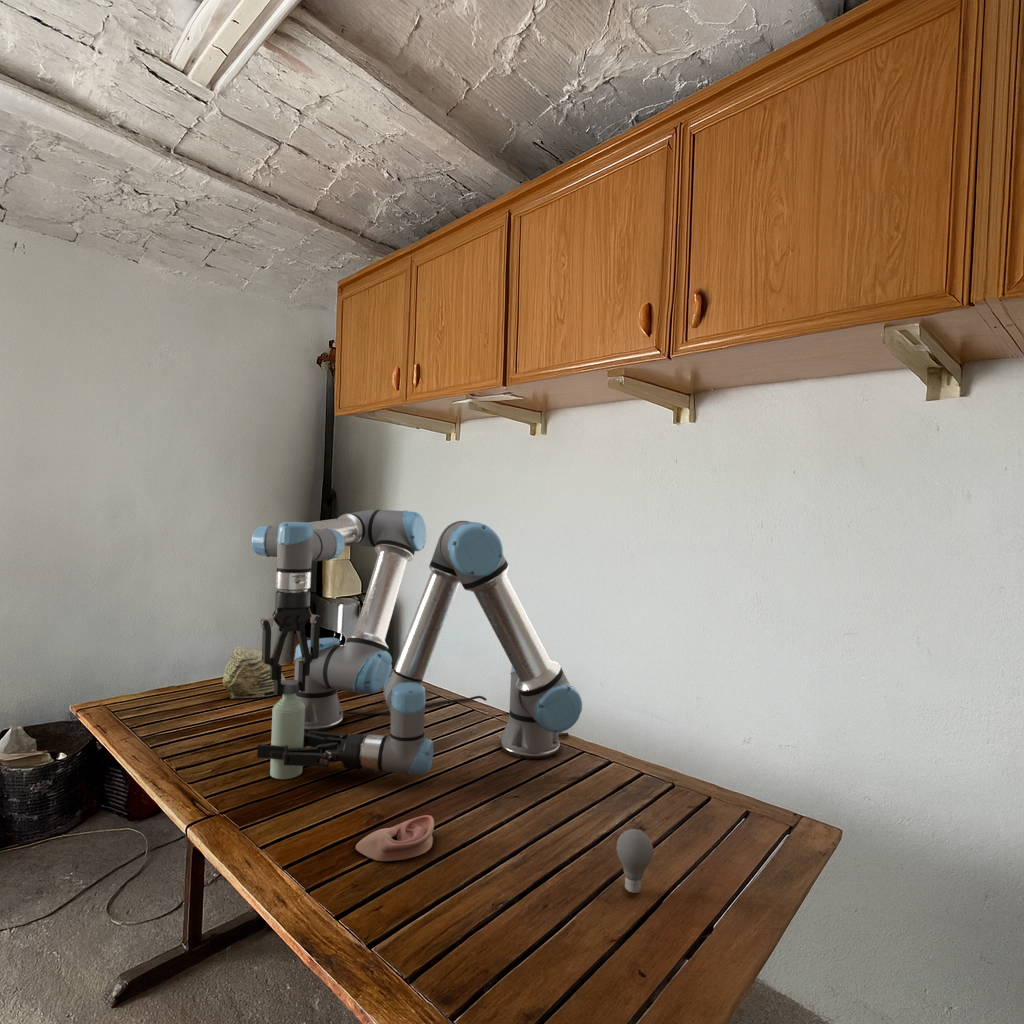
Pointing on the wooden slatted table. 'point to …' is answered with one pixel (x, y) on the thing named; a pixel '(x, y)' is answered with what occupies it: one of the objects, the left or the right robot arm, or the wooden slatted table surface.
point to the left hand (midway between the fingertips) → (289, 691)
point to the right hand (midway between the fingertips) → (266, 744)
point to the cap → (289, 687)
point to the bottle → (287, 733)
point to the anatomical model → (399, 840)
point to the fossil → (248, 674)
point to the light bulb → (634, 857)
